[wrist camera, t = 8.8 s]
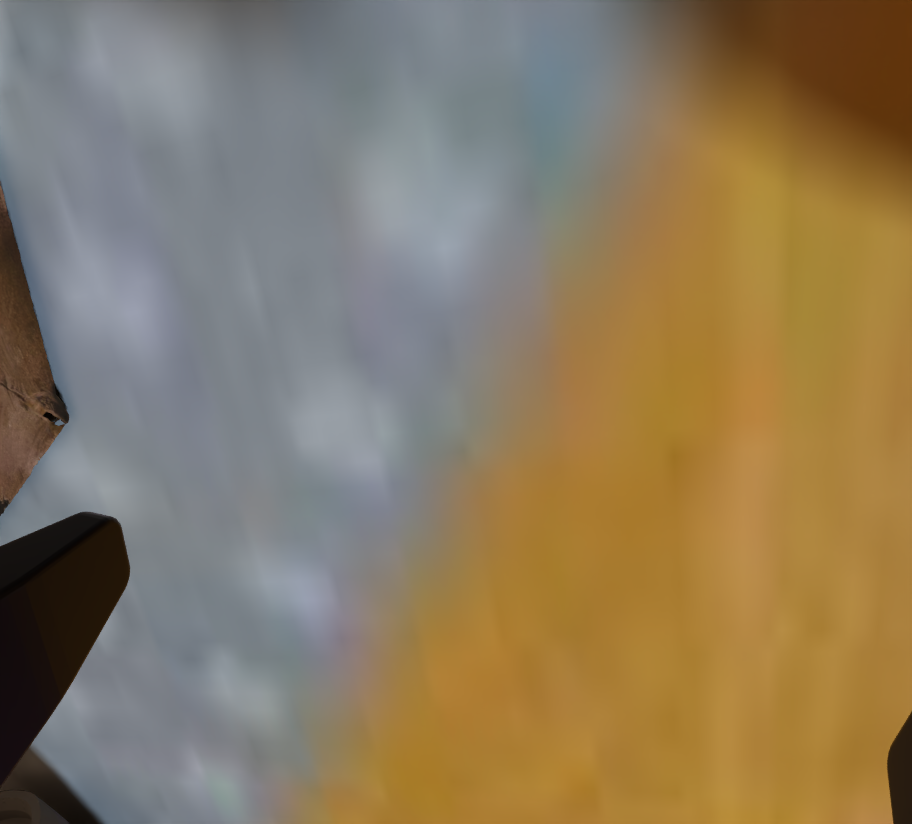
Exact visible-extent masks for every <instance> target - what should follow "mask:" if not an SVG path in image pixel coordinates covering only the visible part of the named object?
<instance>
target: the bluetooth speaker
mask: <svg viewBox="0 0 912 824" xmlns="http://www.w3.org/2000/svg"><path fill="white" fill-rule="evenodd" d="M0 824H69V823H68V822H67V821H66V820H65V819H64V818H63V817H62V816H61V815H59V814H58V813H57V812H56V811H55V810H54V809H52V808H51V807H50V806H48V805H47V804H46V803H45V802H44V801H42V800H41V799H40V798H38V797H37V796H36V795H34V794H33V793H31V792H28V791H22V790H8V791H0Z"/></svg>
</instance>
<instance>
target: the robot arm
mask: <svg viewBox="0 0 912 824" xmlns="http://www.w3.org/2000/svg"><path fill="white" fill-rule="evenodd" d="M129 576H130V564H129V560H128V555H127V550H126V546H125V541H124V536H123V532H122V527H121V525H120V523H119V522H118V520H117V519H116V518H113V517H111V516H106V515H102V514H97V513H93V512H80V513H78V514H75V515H73V516H70V517H68V518H66V519H63V520H61V521H59V522H56V523H54V524H52V525H49V526H47V527H45V528H42V529H40V530H38V531H35V532H33V533H30V534H28V535H26V536H23V537H21V538H19V539H16V540H14V541H12V542H9V543H7V544H5V545H2V546H0V788H1V786H2V785H3V783H4V782H5V781H6V779H7V778H8V776H9V775H10V773H11V772H12V771H13V769H14V768H15V766H16V765H17V763H18V762H19V761H20V759H21V758H22V756H23V755H24V753H25V752H26V751H27V749H28V748H29V746H30V745H31V743H32V742H33V741H34V739H35V738H36V736H37V735H38V734H39V732H40V731H41V729H42V728H43V726H44V725H45V724H46V722H47V721H48V719H49V718H50V716H51V715H52V713H53V712H54V710H55V709H56V707H57V706H58V704H59V703H60V701H61V700H62V698H63V697H64V695H65V693H66V692H67V690H68V688H69V687H70V685H71V683H72V682H73V680H74V678H75V677H76V675H77V673H78V671H79V670H80V668H81V666H82V664H83V662H84V661H85V659H86V657H87V655H88V654H89V652H90V650H91V648H92V647H93V645H94V643H95V641H96V639H97V638H98V636H99V634H100V632H101V631H102V629H103V627H104V625H105V624H106V622H107V620H108V618H109V616H110V615H111V613H112V611H113V609H114V608H115V606H116V604H117V602H118V601H119V599H120V597H121V595H122V593H123V592H124V590H125V588H126V586H127V583H128V580H129ZM887 770H888V780H889V788H890V797H891V806H892V815H893V824H912V712H911V714H910V715H909V717H908V718H907V720H906V722H905V723H904V725H903V727H902V728H901V730H900V731H899V733H898V735H897V736H896V738H895V740H894V741H893V743H892V745H891V747H890V750H889V753H888V760H887Z"/></svg>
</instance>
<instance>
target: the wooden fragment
mask: <svg viewBox="0 0 912 824" xmlns="http://www.w3.org/2000/svg"><path fill="white" fill-rule="evenodd" d="M0 183H1V182H0ZM46 357H47V354H46V352H45V349H44V346H43V341H42V337H41V333H40V329H39V325H38V321H37V318H36V315H35V313H34V310H33V303H32V300H31V297H30V294H29V289H28V284H27V281H26V277H25V274H24V270H23V267H22V263H21V260H20V253H19V250H18V246H17V243H16V240H15V237H14V232H13V228H12V223H11V221H10V218H9V216H8V212H7V207H6V203H5V198H4V194H3V191H2V188H1V186H0V516H1V514H3V513H4V510H5V508H6V507H7V506H8V504H10V503H11V501H12V499H13V498H14V496H15V495H16V494H17V493H18V491H19V489H20V488H21V487H22V485H23V484H24V483H25V481H26V479H27V478H28V477H29V476H30V474H31V472H32V469H33V467H34V466H35V465H36V464H37V463H38V461H37V460H40V459H41V457H42V456H43V455H44V454H45V452H46V451H47V450H48V448H49V447H50V446H51V444H52V443H53V441H54V440H55V438H56V437H57V435H58V434H59V433H60V432H61V430H62V428H63V427H64V425H65V424H66V423H68V421H69V414H68V413H67V411H66V409H65V406H64V403H63V402H62V401H61V400H60V398H59V397H58V396H57V395H56V391H55V384H54V380H53V377H52V374H51V370H50V366H49V362H48V360H47V358H46ZM45 412H49V413H51V414H52V415H54V416H55V417H57V419H56V421H57V420H59V419H61V421H62V422H64V423H65V424H64V425H60V426H57V425H55V422H56V421H55V422H51V421H50V420H49V419H48V418H45V417H43V415H44V413H45ZM39 457H40V459H39Z"/></svg>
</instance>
